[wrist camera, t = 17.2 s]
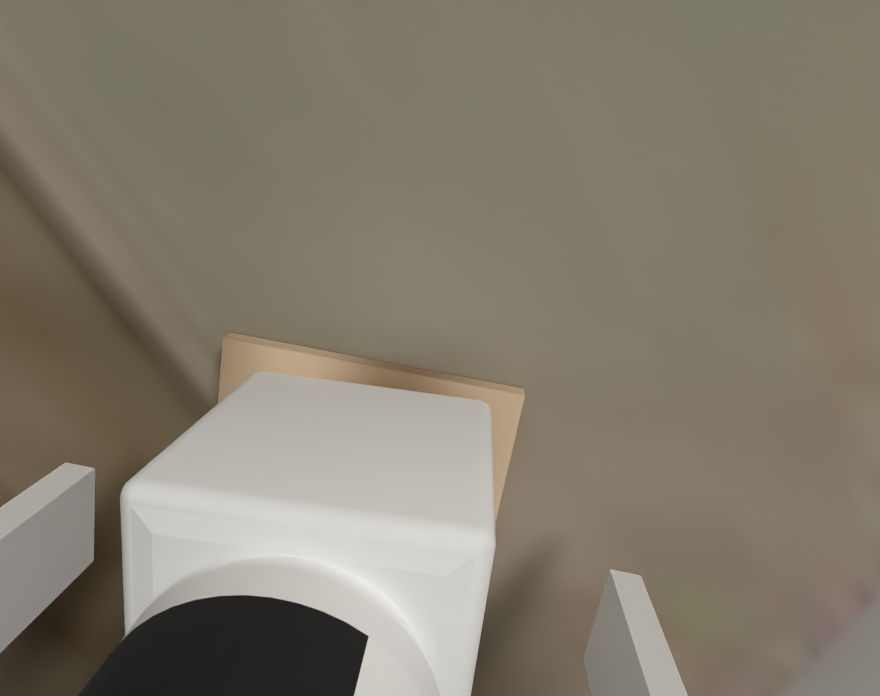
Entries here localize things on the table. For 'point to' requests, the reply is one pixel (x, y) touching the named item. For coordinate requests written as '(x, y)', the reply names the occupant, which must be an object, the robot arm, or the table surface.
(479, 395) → the cork pad
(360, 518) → the medicine bottle
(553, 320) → the table surface
